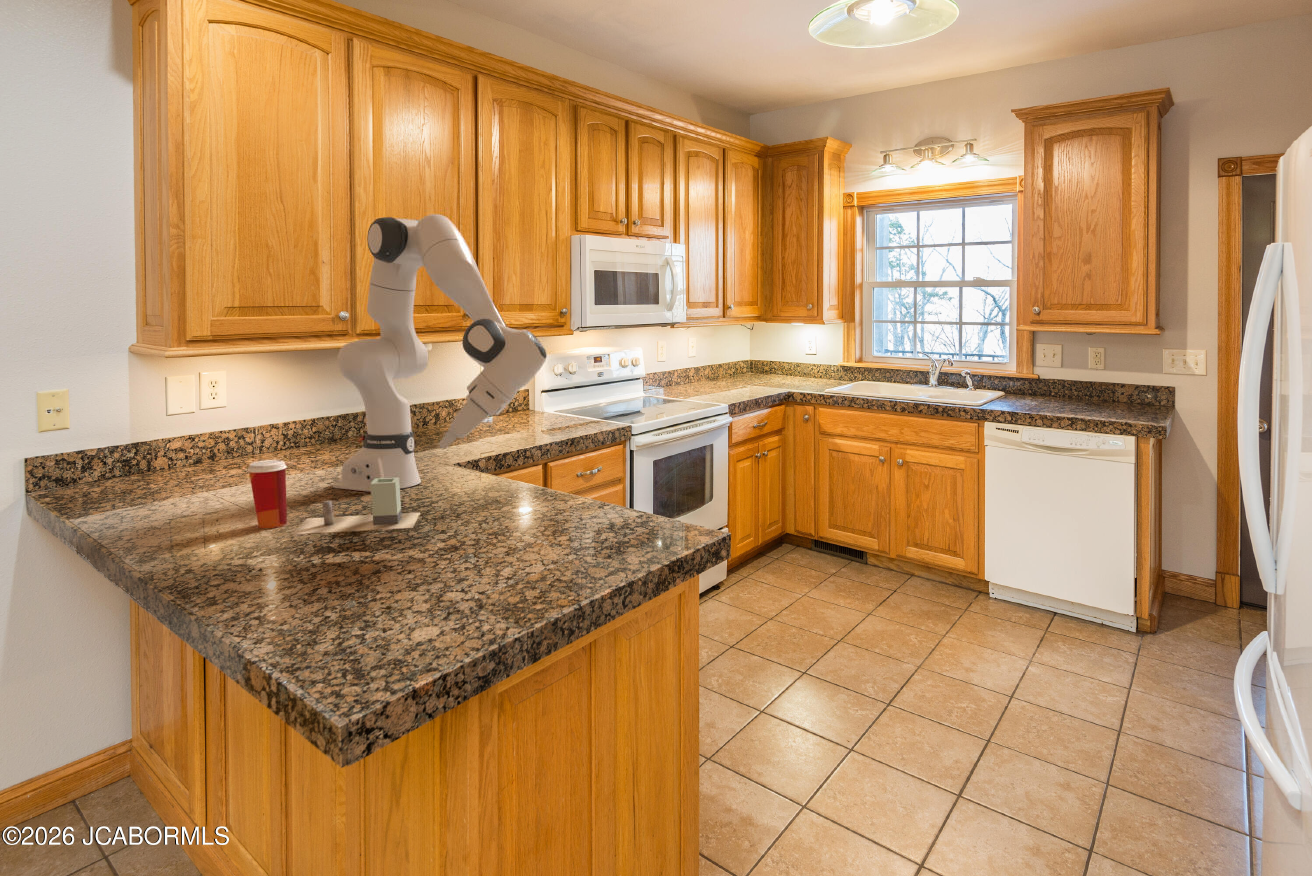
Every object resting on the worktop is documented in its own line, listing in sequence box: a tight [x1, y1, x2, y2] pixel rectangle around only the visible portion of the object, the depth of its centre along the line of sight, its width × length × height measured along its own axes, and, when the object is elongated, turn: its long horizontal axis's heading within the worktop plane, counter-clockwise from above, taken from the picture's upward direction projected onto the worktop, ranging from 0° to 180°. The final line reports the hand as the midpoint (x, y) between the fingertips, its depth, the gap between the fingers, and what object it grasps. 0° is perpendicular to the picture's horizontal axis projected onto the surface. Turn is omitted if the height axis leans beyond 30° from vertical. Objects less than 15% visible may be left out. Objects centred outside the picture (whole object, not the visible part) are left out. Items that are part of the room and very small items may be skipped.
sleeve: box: [370, 478, 402, 525], centre depth 163 cm, size 5×5×9 cm
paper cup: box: [247, 459, 288, 530], centre depth 166 cm, size 8×8×14 cm
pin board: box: [290, 500, 421, 535], centre depth 162 cm, size 24×12×6 cm, turn 100°
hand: (443, 443), depth 163 cm, fingers open, 8 cm apart
